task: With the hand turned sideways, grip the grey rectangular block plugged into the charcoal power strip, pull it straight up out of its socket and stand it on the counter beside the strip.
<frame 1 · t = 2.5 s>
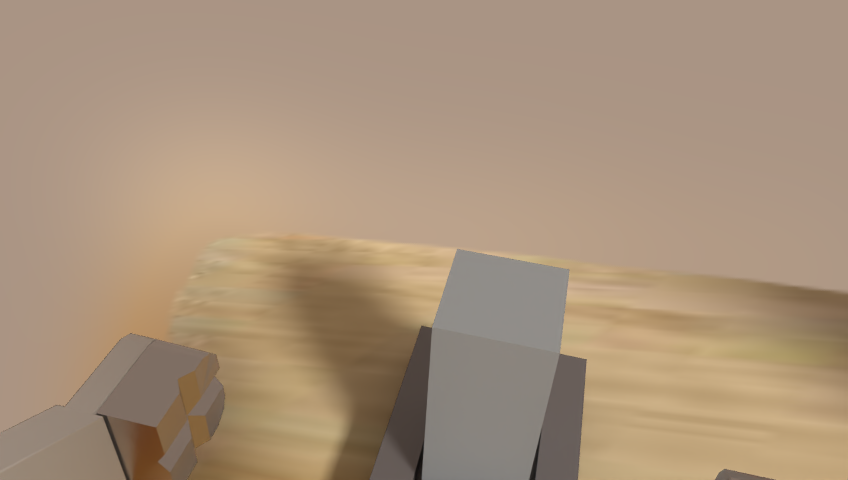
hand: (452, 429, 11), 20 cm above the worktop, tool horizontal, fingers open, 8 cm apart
grey rectangular block: (477, 465, 33), point 1 cm above the worktop, touching power strip
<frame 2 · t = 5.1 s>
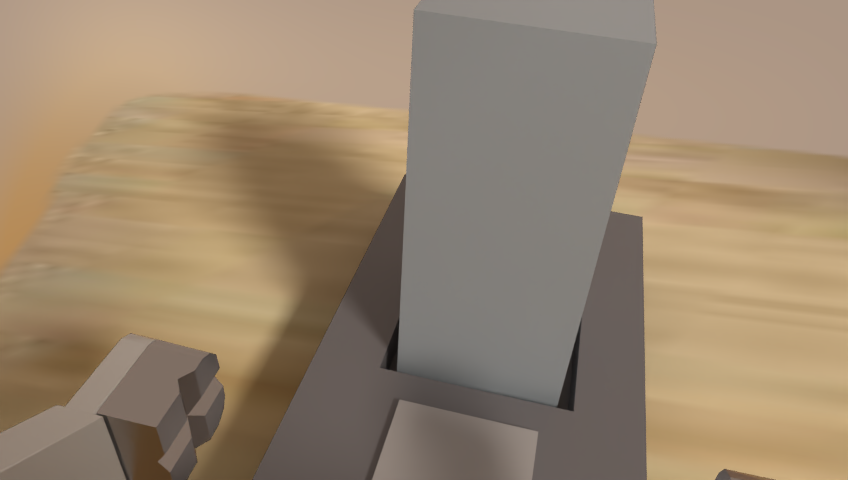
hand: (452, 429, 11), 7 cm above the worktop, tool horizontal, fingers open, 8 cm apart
power strip: (457, 479, 19), on the worktop
grey rectangular block: (486, 349, 21), point 1 cm above the worktop, touching power strip
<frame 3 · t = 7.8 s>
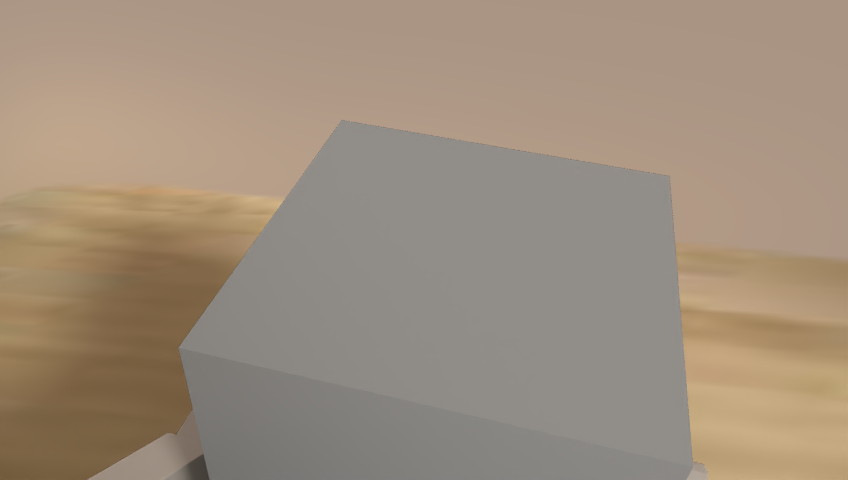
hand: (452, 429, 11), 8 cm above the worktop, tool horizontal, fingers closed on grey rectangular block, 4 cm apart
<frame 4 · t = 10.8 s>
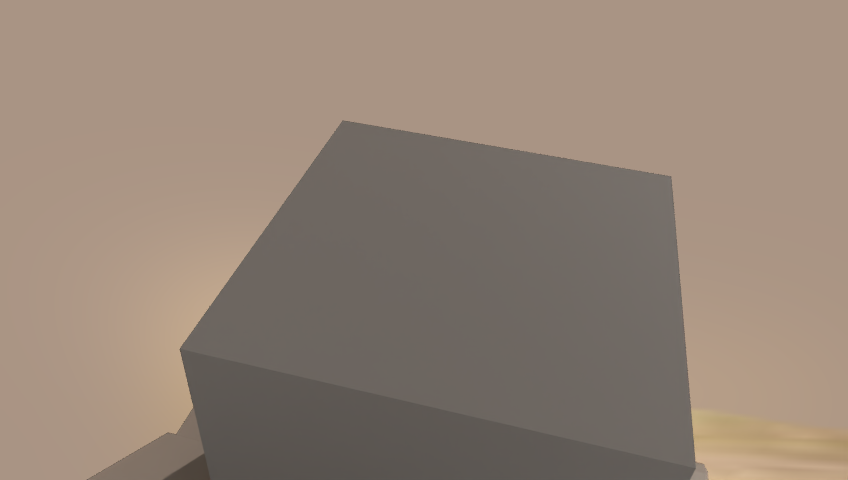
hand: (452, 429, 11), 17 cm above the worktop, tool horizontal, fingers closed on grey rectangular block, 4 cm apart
when the fingers open (8 cm above the worktop, at t = 13.9 s): grey rectangular block drops 1 cm, on the worktop.
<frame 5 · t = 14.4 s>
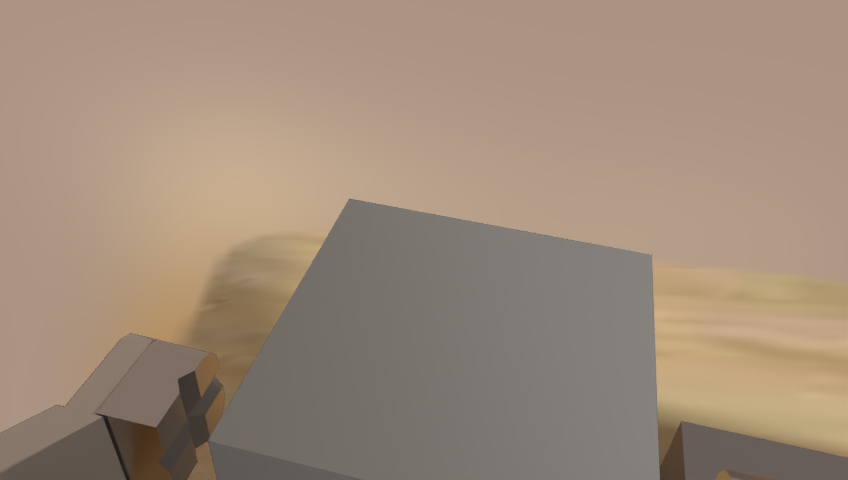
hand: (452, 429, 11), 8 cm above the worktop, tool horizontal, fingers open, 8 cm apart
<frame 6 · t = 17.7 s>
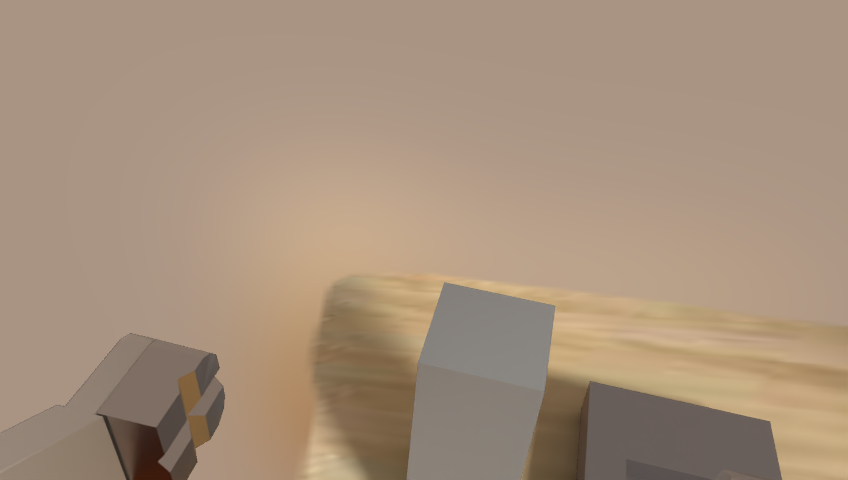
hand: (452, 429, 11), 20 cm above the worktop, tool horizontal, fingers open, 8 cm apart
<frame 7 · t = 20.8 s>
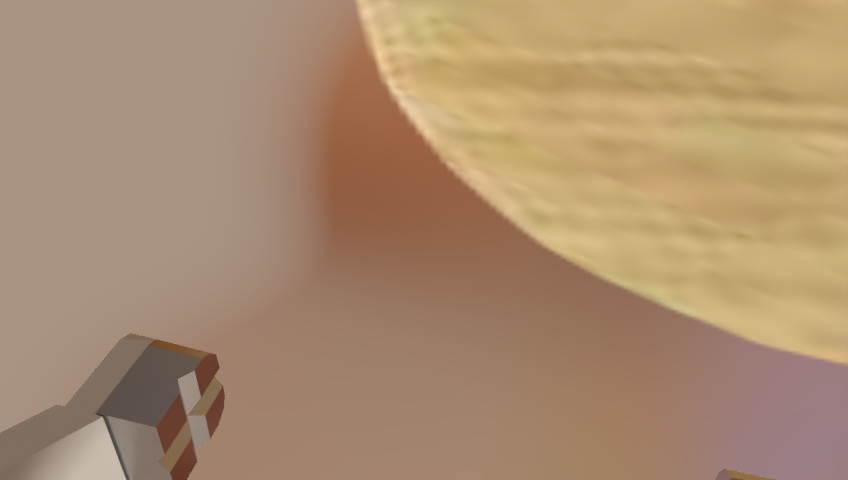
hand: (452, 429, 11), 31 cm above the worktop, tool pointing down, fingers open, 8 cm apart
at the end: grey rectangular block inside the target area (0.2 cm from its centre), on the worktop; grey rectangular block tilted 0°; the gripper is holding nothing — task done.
